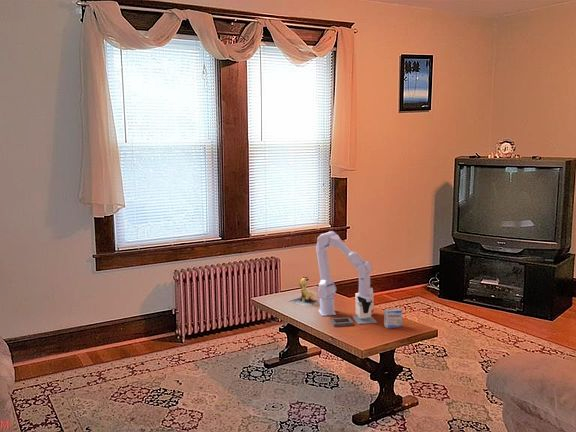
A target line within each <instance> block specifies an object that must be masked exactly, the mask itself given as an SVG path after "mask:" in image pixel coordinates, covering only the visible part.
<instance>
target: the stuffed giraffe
mask: <svg viewBox="0 0 576 432" xmlns="http://www.w3.org/2000/svg"><path fill="white" fill-rule="evenodd" d="M309 280H310V279H309V278H308V276H305V275H303V277H302V278H301V279H300V281H299V287H300V288H301V296H300V297H297V298H294V299H292V300H289V301H288V302H287V303H291V302H292V303H293V304H295V305H297V306H304V305H307V306H306V308H310V306H311V305H314V306H316V305H320V302H318V300H319V301H320V296H315V294H314V292H313V291H311V290H308V289H307V286H308V285H307V283H308V281H309ZM314 298H317V299H316V300H317V301H315V302H314ZM301 302H302V303H301ZM312 302H313V303H312Z"/></svg>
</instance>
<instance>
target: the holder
mask: <svg viewBox="0 0 576 432" xmlns="http://www.w3.org/2000/svg"><path fill="white" fill-rule="evenodd" d="M330 323H331V324H332V326H333V327H334V328H335V327H347V326H349V327H350V326H354V323H355V322H354V321H353V320H352V319H351V317H350V316H349V317H348V316H347V317H338V318H337V317H335V318H330Z"/></svg>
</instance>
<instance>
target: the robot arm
mask: <svg viewBox="0 0 576 432" xmlns="http://www.w3.org/2000/svg"><path fill="white" fill-rule="evenodd" d="M316 241H317V242H316V245H315V252H316V259H317V266H318V272H319V278H320V280H319V283H318V284H317V285H318V290H317V294H318V297H320V300H319V309H318V310H317V311H318V313H319V314H320V316H322V317H324V316H325V317H326V316H336V315H337V313H336V311H335V294H336V292H337V286H336V285H335V282H334V280H333V279H332V276H331V271H330V265H329V257H328V252H327V250H328V248H329V247H335V248H337V249H338V250H339V251H340V252H342V253H343V254H344V255H345V256H346V259H347V261H348V262H349V263H350V264H351V265H352V266H353V267H354V268H355V269H356V273H358V293H359V294H358V297H357V298H358V300H359V302H361V303H362V306H363V312H364V313H368V311H369V306H370V304H371V302H372V300H371V298H370V296H372V293H370V288H371V272H372V270H373V266H372V264H371V263H370V261H366V260H365V259H363V257H361V256H360V254H359V253H358V252H356V251H352V250H351V249H350V248H349V247H348V246H347V244H345V243H344V242H343V240H342V239H341V237H340V236H339V234H337V233H336V232H335V231H334V230H329V231H328V232H325V233H321V234H320V235H319V236H318V237H317V238H316Z"/></svg>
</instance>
